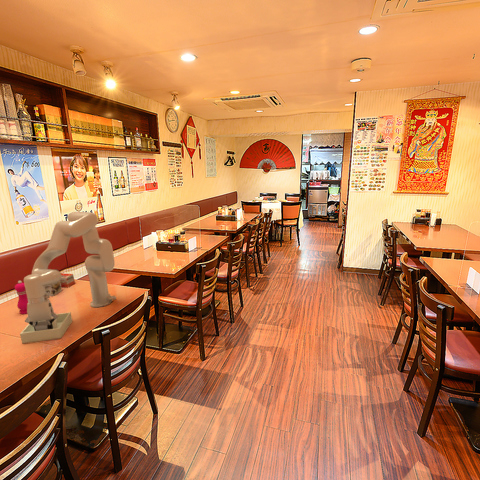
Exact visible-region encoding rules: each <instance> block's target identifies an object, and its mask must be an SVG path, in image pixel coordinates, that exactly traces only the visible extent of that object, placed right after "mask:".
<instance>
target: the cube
mask: <svg viewBox="0 0 480 480" xmlns="http://www.w3.org/2000/svg"><path fill="white" fill-rule="evenodd" d="M35 329H36V331H40V330H48V323H47V322H46V321H41V322H39V323H38V324H37V325H36V326H35Z"/></svg>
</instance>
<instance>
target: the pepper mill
mask: <svg viewBox="0 0 480 480" xmlns="http://www.w3.org/2000/svg"><path fill="white" fill-rule="evenodd" d="M14 290H15V291H16V295H18V301H17V309H19V313H20V315H26V314H27V303H28V298H27V293H26V289H25V284H24V282H22V280H18V281H17V283H16V284H15V285H14ZM27 315H28V314H27Z"/></svg>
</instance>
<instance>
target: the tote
mask: <svg viewBox="0 0 480 480" xmlns="http://www.w3.org/2000/svg"><path fill="white" fill-rule="evenodd" d="M56 315H58V318H57V327H55V328H54V329H48V330H40V331H35V329H34V327H33V326H32V325H30V324H29V323H27V325H26V326H25V328H24V329H23V330H22V331H21V332H20V333H19V336H20V340H21V343H22V344H29V343H36V342H43V341H44V342H45V341H51V340H59V339H62V338H63V337H64V335H65V333H66V331H68V329H69V327H70V326H71V324H72V323H73V318H72V312H71V311H70V312H64V313H63V312H62V313H56ZM39 322H41V321H38V323H39Z"/></svg>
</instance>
